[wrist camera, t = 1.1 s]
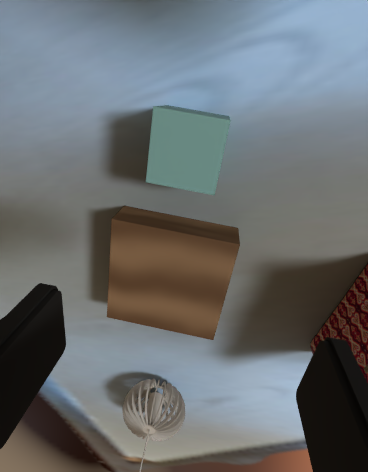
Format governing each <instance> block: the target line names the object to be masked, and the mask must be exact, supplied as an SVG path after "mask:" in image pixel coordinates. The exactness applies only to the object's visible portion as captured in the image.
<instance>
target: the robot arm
mask: <svg viewBox="0 0 368 472" xmlns="http://www.w3.org/2000/svg"><path fill="white" fill-rule="evenodd" d="M65 347H66V338H65V327H64V316H63V305H62V294H61V292H60V291H58V289H57V287H56V286H52V285H47V284H42V283H40V284H38V285H37V286H36V287H35V288H34V289H33V290H32V291H31V292H30V293H29V294H28V295H27V296H26V297H25V298H24V299H23V300H22V301H21V302H19V303H18V304H17V305H16V306H15V307H14V308H13V309H12V310H11V311H10V312H9V313H8V314H7V315H6V316H5V317H4V318H2V319H1V320H0V449H1V448H2V447H3V446H4V444H5V443H6V442H7V440H8V439H9V437H10V435H11V434H12V432H13V431H14V429H15V428H16V426H17V424H18V423H19V421H20V420H21V418H22V417H23V415H24V413H25V412H26V410H27V409H28V407H29V406H30V404H31V402H32V401H33V399H34V398H35V396H36V395H37V393H38V392H39V390H40V388H41V387H42V385H43V384H44V382H45V381H46V379H47V377H48V376H49V374H50V373H51V371H52V370H53V368H54V367H55V365H56V363H57V362H58V360H59V359H60V357H61V356H62V354H63V352H64V350H65ZM296 400H297V405H298V409H299V413H300V418H301V422H302V426H303V431H304V435H305V439H306V444H307V448H308V452H309V456H310V461H311V465H312V469H313V472H368V383H367V381H366V379H365V377H364V375H363V373H362V371H361V369H360V367H359V365H358V363H357V361H356V358H355V356H354V354H353V352H352V350H351V348H350V346H349V344H348V343H347V341H345V340H341V339H336V338H330V337H327V338H325V340H324V341H323V340H321V341H320V342H319V343H318V345H317V348H316V350H315V352H314V354H313V356H312V358H311V361H310V363H309V365H308V367H307V369H306V371H305V373H304V376H303V378H302V380H301V382H300V384H299V386H298V389H297V392H296Z"/></svg>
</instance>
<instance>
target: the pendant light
mask: <svg viewBox="0 0 368 472" xmlns="http://www.w3.org/2000/svg"><path fill="white" fill-rule="evenodd" d="M159 382H160V379H159V380H158V383H156V381H155V379H152V380H150V379H146V380H145V381H140V382H139V383H138V384H136V385H134V386H133V387H132V388H131V389H130V391H129V392H128V393H127V395H126V397H125V400H124V404H123V417H124V421H125V423H126V425H127V427H128V428H129V429H130V430H131V431H132V433H134V434H137V436H138V437H142V436H143V439H145V438H146V436H147V434H148V436H147V440H150V436H151V438H152V440H153V441H156V440H157V441H162V440H167V439H168V438H171V437H173V436H174V435H175V434H176V433H177V432H178V431H179V430H180V428H181V426H182V424H183V422H184V418H185V404H184V401H183V398H182V396H181V394H180V392H179V391H178V390H177V389H176V388H175V387H174V386H172V385H171V384H170V383H168V384H166V381H164V382H163V383H162V385H161V386H159ZM154 384H155V385H154ZM163 385H164V387H162V386H163ZM154 387H156V391H157V387H158V388H161V389H163V395H162V394H160V393H157V392H156V391H155V392H153V393H151V392H150V390H151V389H152V388H154ZM164 392H165V393H166V394H165V396H164ZM136 393H137V394H136ZM136 397H138V398H137V399H136V400H135V398H136ZM143 397H145V398H144V399H143V400H142V401H141V399H142V398H143ZM148 398H149V400H148V401H147V399H148ZM144 401H145V406H144V408H143V410H142V409H141V405H142V403H143V402H144ZM137 402H138V406H137V408H136V403H137ZM165 402H166V403H167V406H166V403H165ZM131 403H132V405H131ZM170 403H171V404H172V405H173V408H172V406H171V404H170ZM147 404H148V406H147ZM163 404H164V406H165V411H164V412H163V414H162V405H163ZM168 407H169V408H170V411H171V412H170V414H169V415H168V411H167V410H168ZM177 407H178V409H177ZM138 409H139V413H140V416H139V414H138V412H137V411H138ZM144 409H145V417H144V416H143V412H144ZM132 410H133V411H134V413H133V411H132ZM174 411H175V415H174ZM165 413H166V418H165V419H164V420H163V421H162V422H161V420H162V418H163V417H164V415H165ZM170 417H171V420H170V421H168V420H169V419H170ZM175 420H176V421H175ZM174 421H175V422H174ZM159 422H160V423H159ZM146 445H147V441H146ZM146 445H145V449H146ZM145 449H144V453H145ZM143 458H144V454H143ZM143 458H142V462H143ZM142 462H141V467H142ZM141 467H140V471H141ZM140 471H139V472H140Z"/></svg>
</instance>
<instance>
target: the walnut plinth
mask: <svg viewBox="0 0 368 472" xmlns="http://www.w3.org/2000/svg"><path fill="white" fill-rule="evenodd" d="M239 246H240V241H239V232H238V228H235V227H230V226H225V225H220V224H214V223H209V222H204V221H199V220H194V219H189V218H184V217H179V216H174V215H169V214H164V213H159V212H153V211H148V210H143V209H138V208H133V207H128V206H124V207H123V208H122V209H121V210H120V211H119V212H118V213H117V214H116V215H115V216H114V217H113V218H112V223H111V244H110V265H109V286H108V307H107V317H109V318H114V319H118V320H123V321H127V322H132V323H137V324H141V325H146V326H151V327H155V328H160V329H164V330H169V331H174V332H178V333H183V334H187V335H192V336H197V337H201V338H206V339H211V340H213V339H214V336H215V332H216V328H217V325H218V321H219V318H220V314H221V310H222V307H223V303H224V300H225V296H226V292H227V289H228V285H229V282H230V278H231V275H232V271H233V267H234V264H235V260H236V257H237V253H238V249H239Z"/></svg>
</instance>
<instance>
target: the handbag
mask: <svg viewBox="0 0 368 472" xmlns="http://www.w3.org/2000/svg"><path fill="white" fill-rule="evenodd" d="M327 337H330V338H336V339H341V340H345V341H347V343H348V344H349V346H350V348H351V350H352V352H353V354H354V356H355V358H356V361H357V363H358V365H359V367H360V369H361V371H362V373H363V375H364V377H365V379H366V381H367V383H368V264H367V265H366V267H365V268H364V270H363V271H362V272H361V274H360V275H359V277H358V278H357V280H356V281H355V282H354V284H353V285H352V287H351V288H350V290H349V291H348V292H347V294H346V295H345V297H344V298H343V299H342V301H341V302H340V304H339V305H338V306H337V308H336V309H335V310H334V312H333V313H332V315H331V316H330V317H329V319H328V320H327V321H326V323H325V324H324V325H323V327H322V328H321V330H320V331H319V332H318V334H317V335H316V336H315V337H314V339H313V340H312V342H311V344H310V346H311V351H312V353H313V354H314V352H315V350H316V348H317V345H318V343H319V342H320V341H321V340H323V341H324V340H325V338H327Z"/></svg>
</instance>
